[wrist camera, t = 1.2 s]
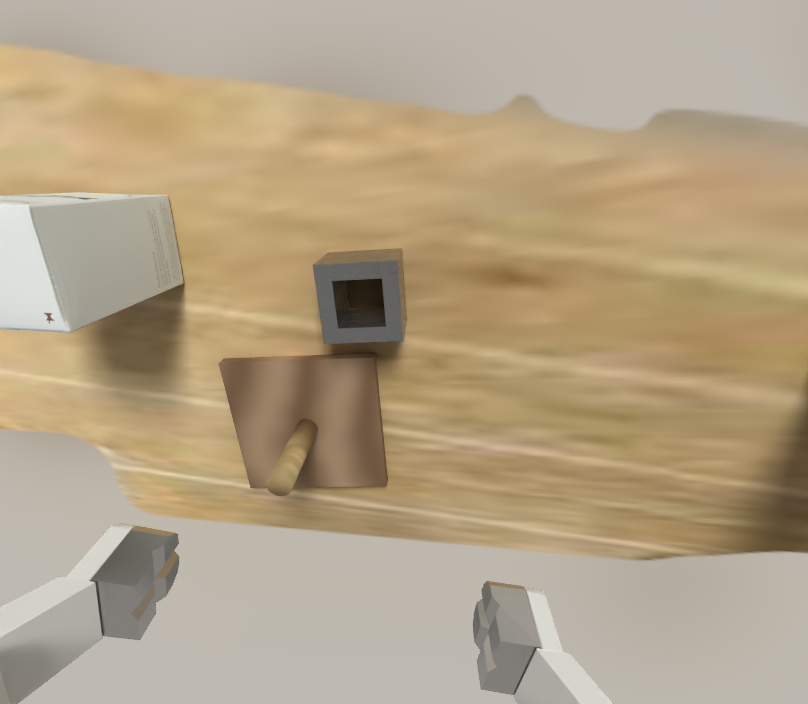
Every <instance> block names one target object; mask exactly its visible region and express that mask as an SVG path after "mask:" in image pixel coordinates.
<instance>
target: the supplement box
mask: <svg viewBox="0 0 808 704" xmlns="http://www.w3.org/2000/svg"><path fill="white" fill-rule="evenodd" d="M183 283H184V282H183V275H182V269H181V263H180V258H179V252H178V247H177V241H176V235H175V229H174V224H173V218H172V213H171V207H170V203H169V198H168V196H167V195H135V194H105V193H84V192H76V193H54V194H31V195H8V196H0V330H12V331H42V332H62V333H70V332H73V331H75V330H78V329H80V328H82V327H85V326H87V325H89V324H91V323H94V322H96V321H98V320H101V319H103V318H105V317H107V316H110V315H112V314H114V313H117V312H119V311H121V310H123V309H126V308H128V307H131V306H133V305H135V304H137V303H140V302H142V301H144V300H147V299H149V298H151V297H154V296H156V295H158V294H160V293H163V292H165V291H168V290H170V289H172V288H174V287H177V286H179V285H181V284H183Z"/></svg>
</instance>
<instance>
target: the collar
mask: <svg viewBox="0 0 808 704" xmlns="http://www.w3.org/2000/svg"><path fill="white" fill-rule="evenodd" d="M313 270H314V276H315V283H316V290H317V297H318V303H319V310H320V317H321V324H322V331H323V337H324V344H340V343H365V342H391V341H403V339H404V333H405V327H406V321H407V316H406V301H405V286H404V270H403V255H402V249H387V250H369V251H351V252H333V253H328V254H326V255H325V256H324V257H323V258H321V259H320V260H319V261H317V262H316V263H315V264H314V265H313ZM381 278H382V286H383V297H384V307H378V308H356V309H350V306H349V297H348V289H347V280H361V279H381Z"/></svg>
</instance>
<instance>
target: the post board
mask: <svg viewBox="0 0 808 704" xmlns="http://www.w3.org/2000/svg"><path fill="white" fill-rule="evenodd" d="M219 367H220V371H221V374H222V378H223V382H224V386H225V390H226V394H227V398H228V402H229V406H230V409H231V413H232V417H233V421H234V425H235V429H236V433H237V437H238V441H239V444H240V448H241V452H242V456H243V460H244V464H245V468H246V472H247V476H248V479H249V483H250V487H251V488H268V490H269V491H270V492H271V493H273V494H275V495H277V496H285V495H288V494H289V493H290V492H291V491H292V488H293V487H375V486H387V481H388V478H387V467H386V457H385V447H384V437H383V427H382V417H381V407H380V397H379V387H378V376H377V366H376V356H375V353H367V354H340V355H313V356H286V357H259V358H232V359H223V360H222V361H221V362H220V363H219Z"/></svg>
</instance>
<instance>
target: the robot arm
mask: <svg viewBox="0 0 808 704" xmlns="http://www.w3.org/2000/svg"><path fill="white" fill-rule="evenodd" d="M178 544H179V541H178V534H176V533H172V532H167V531H161V530H156V529H151V528H145V527H140V526H134V525H127V524H122V523H116V524H114V525H112V526H111V527H109V529H108V530H107V531H106V532H105V533H104V534H103V535H102V536H101V538H100V539H99V540H98V541H97V542H96V543H95V544H94V546H93V547H92V548H91V549H90V550H89V551H88V552H87V553H86V555H85V556H84V557H83V558H82V559H81V560H80V561H79V563H78V564H77V565H76V566H75V567H74V568H73V570H72V571H71V572H70V573H69V574H68V575H67V576H66V577H57V578H56V579H54V580H52V581H50V582H48V583H46V584H44V585H42V586H41V587H38V588H36V589H35V590H33V591H31V592H29V593H27V594H25V595H23V596H21V597H19V598H17V599H15V600H14V601H12V602H10V603H8V604H6V605H4V606H2V607H0V704H18V703H19V702H20V701H22V700H23V699H24V698H26V697H27V696H28V695H30V694H31V693H32V692H34V691H35V690H36V689H37V688H39V687H40V686H41V685H43V684H44V683H45V682H47V681H48V680H49V679H50V678H52V677H53V676H54V675H56V674H57V673H58V672H59V671H61V670H62V669H63V668H65V667H66V666H67V665H68V664H70V663H71V662H72V661H74V660H75V659H76V658H78V657H79V656H80V655H82V654H83V653H84V652H85V651H87V650H88V649H89V648H91V647H92V646H93V645H94V644H96V643H97V642H98V641H100V640H101V639H102V636H108V637H117V638H127V639H135V640H140V639H141V637H142V636H143V634H144V632H145V631H146V629H147V627H148V626H149V624H150V622H151V621H152V619H153V617H154V616H155V614H156V604H155V603H156V602H158V601H159V600H161V599H162V598H164V597H166V596H167V594H168V592H169V590H170V589H171V587H172V585H173V582H174V580H175V577H176V574H177V572H178V566H179V556H178V554H177V553H176V552H175V551H174V550H175V548H176V547H177V545H178ZM482 597H483V599H482V600H480V601H479V602H477V605H476V608H475V612H474V619H473V632H474V642H475V643H476V645H477V646H478V648H479V649H480V650H481V651H480V654H479V656H478V659H477V665H478V672H479V679H480V687H481V689H483V690H488V691H494V692H500V693H506V694H511V695H514V698H515V700H516V702H517V703H518V704H613V703H612V702H611V701H610V700H609V699H608V697H607V696H606V695H605V694H604V693H603V692H602V690H601V689H600V688H599V687H598V686H597V685H596V684H595V682H593V680H592V679H591V678H590V677H589V675H588V674H587V673H586V672H585V671H584V670H583V669H582V667H581V666H580V665H579V664H578V663H577V662H576V660H575V659H574V658H573V657H572V656H571V655H570V653H566V652H563V649H562V646H561V642H560V639H559V636H558V633H557V630H556V627H555V624H554V621H553V618H552V614H551V611H550V608H549V605H548V602H547V599H546V596H545V593H544V592H543V591H542V590H541V589H535V588H528V587H522V586H518V585H511V584H503V583H496V582H489V581H487V582H486V583H485V584H484V586H483V588H482Z"/></svg>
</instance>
